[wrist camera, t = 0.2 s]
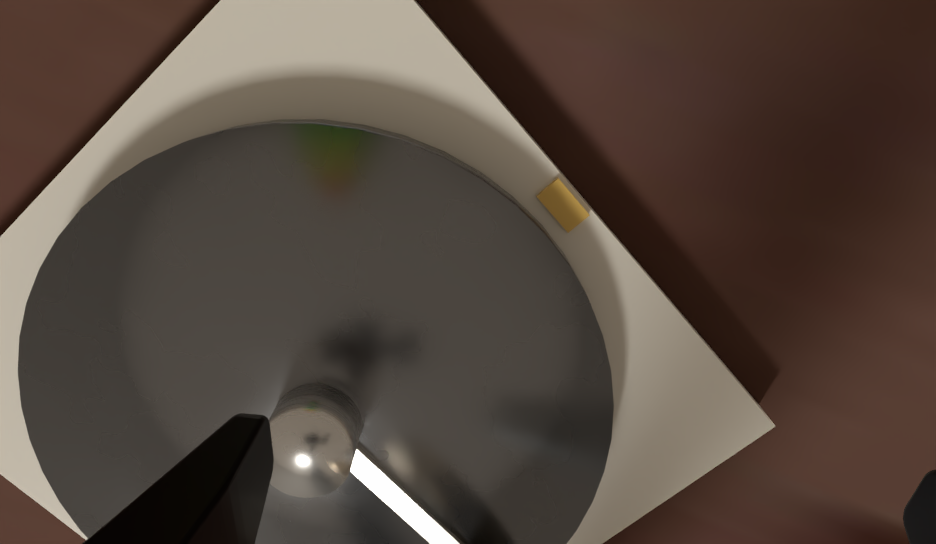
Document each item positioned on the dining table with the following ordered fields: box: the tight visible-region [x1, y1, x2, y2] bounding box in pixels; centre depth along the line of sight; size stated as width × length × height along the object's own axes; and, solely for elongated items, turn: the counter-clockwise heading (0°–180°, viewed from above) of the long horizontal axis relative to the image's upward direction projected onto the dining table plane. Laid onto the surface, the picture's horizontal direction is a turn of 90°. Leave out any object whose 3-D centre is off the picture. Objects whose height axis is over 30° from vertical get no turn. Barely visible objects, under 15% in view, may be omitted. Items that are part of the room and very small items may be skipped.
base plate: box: [0, 0, 775, 544], centre depth 25 cm, size 23×23×2 cm
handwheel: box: [18, 119, 614, 544], centre depth 21 cm, size 20×20×6 cm
